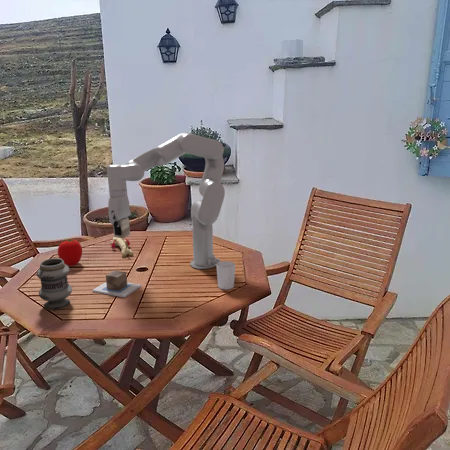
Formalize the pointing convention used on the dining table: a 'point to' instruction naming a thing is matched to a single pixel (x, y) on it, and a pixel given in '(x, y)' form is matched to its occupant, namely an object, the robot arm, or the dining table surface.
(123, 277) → the walnut cube
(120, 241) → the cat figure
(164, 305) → the dining table surface
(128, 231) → the ash pillar
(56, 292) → the apothecary jar
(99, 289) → the board
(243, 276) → the dining table surface
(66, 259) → the tomato
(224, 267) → the white cup
